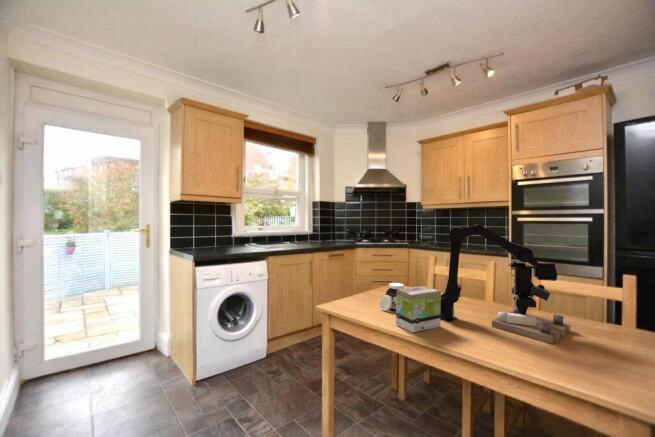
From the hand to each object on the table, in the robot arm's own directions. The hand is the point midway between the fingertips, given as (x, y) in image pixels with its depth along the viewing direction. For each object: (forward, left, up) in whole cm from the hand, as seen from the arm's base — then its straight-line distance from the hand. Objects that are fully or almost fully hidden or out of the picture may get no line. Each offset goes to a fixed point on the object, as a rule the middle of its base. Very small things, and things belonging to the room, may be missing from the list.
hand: (522, 317), depth 115 cm
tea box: (-32, +26, -4) cm, 41 cm away
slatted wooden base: (+1, -2, -4) cm, 5 cm away
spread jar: (-24, +46, -4) cm, 52 cm away
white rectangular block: (-3, +1, -1) cm, 4 cm away
